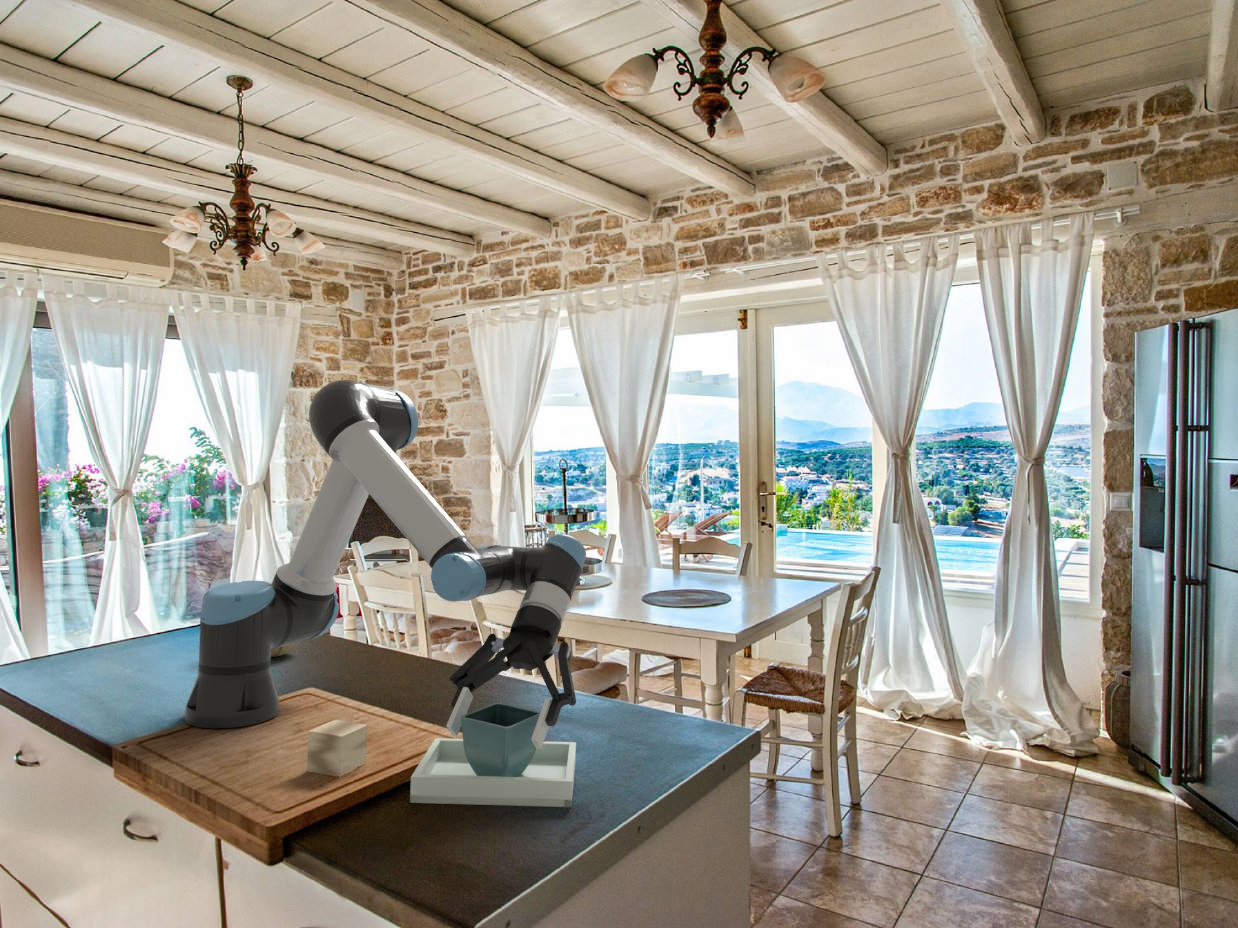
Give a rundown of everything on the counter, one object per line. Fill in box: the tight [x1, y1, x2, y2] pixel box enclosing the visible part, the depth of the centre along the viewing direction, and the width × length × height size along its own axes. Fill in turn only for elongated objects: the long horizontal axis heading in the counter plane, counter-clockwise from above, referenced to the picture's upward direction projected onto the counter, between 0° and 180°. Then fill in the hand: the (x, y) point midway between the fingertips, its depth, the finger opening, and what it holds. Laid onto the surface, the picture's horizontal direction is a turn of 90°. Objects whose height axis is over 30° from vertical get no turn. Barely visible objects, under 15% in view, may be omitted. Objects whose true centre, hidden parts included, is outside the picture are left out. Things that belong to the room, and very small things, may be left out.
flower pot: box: [461, 702, 541, 777], centre depth 116 cm, size 9×9×9 cm
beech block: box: [306, 719, 369, 778], centre depth 120 cm, size 6×6×6 cm
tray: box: [409, 737, 577, 808], centre depth 116 cm, size 22×16×4 cm
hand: (492, 737), depth 114 cm, fingers open, 13 cm apart
